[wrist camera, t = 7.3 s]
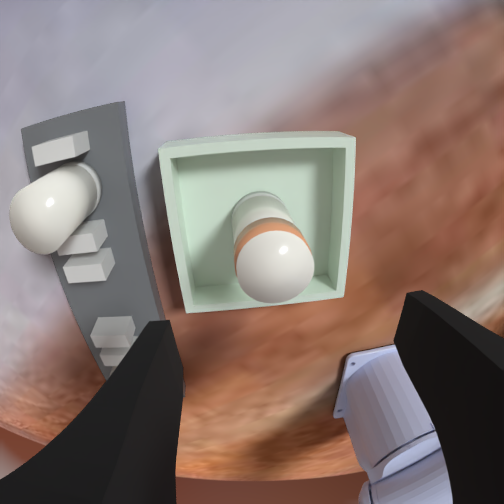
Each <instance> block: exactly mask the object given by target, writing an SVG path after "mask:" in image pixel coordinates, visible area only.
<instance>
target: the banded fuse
mask: <svg viewBox="0 0 504 504" xmlns="http://www.w3.org/2000/svg"><path fill="white" fill-rule="evenodd" d="M231 223H232V230H233V240H234V250H233V254H234V265H235V273H236V276H237V279H238V282H239V285H240V287H241V288H242V290H243V291H244V292H245V293H246V294H247V295H248V296H249V297H251V298H252V299H254V300H256V301H259V302H263V303H281V302H285V301H288V300H290V299H292V298H294V297H296V296H298V295H299V294H300V293H302V292H303V291H304V290H305V288H306V287H307V286H308V285H309V283H310V281H311V279H312V277H313V273H314V260H313V257H312V253H311V250H310V247H309V245H308V244H307V242H306V240H305V238H304V236H303V235H302V233H301V231H300V230H299V229H298V228H297V227H296V225H295V223H294V221H293V219H292V218H291V216H290V214H289V212H288V210H287V208H286V206H285V204H284V203H283V201H282V200H281V199H280V198H279V197H278V196H276V195H274V194H272V193H270V192H265V191H256V192H251V193H249V194H247V195H245V196H243V197H242V198H241V199H240V200H239V201H238V202H237V203H236V204H235V206H234V208H233V211H232V215H231Z"/></svg>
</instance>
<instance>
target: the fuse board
mask: <svg viewBox="0 0 504 504" xmlns="http://www.w3.org/2000/svg"><path fill="white" fill-rule="evenodd" d="M21 133H22V139H23V145H24V151H25V157H26V162H27V167H28V172H29V177H30V181H31V183H33V182H34V181H36V180H38V179H39V178H41V177H43V176H45V175H46V174H48V173H50V172H52V171H53V170H55V169H57V168H58V167H60V166H62V165H63V164H65V163H67V162H70V161H83V162H85V163H88V164H89V165H91V166H92V167H93V168H94V169H95V170H96V172H97V173H98V175H99V177H100V179H101V182H102V198H101V201H100V203H99V205H98V206H97V208H96V209H95V210H94V211H93V212H92V213H91V214H90V215H89V216H88V217H87V218H86V219H85V220H84V221H83V222H82V223H81V224H80V225H79V226H78V227H77V228H76V229H75V230H74V232H73V233H72V234H71V235H70V236H69V237H68V238H67V239H66V240H65V242H64V243H63V244H62V245H61V246H60V247H59V248H58V249H57V250H56V251H55V252H53V253H51V256H52V259H53V262H54V265H55V268H56V271H57V273H58V276H59V279H60V282H61V284H62V287H63V289H64V292H65V294H66V297H67V299H68V302H69V304H70V307H71V309H72V311H73V314H74V316H75V318H76V321H77V323H78V325H79V327H80V329H81V332H82V334H83V336H84V338H85V340H86V342H87V344H88V346H89V348H90V350H91V352H92V354H93V356H94V358H95V360H96V362H97V364H98V366H99V368H100V370H101V372H102V374H103V376H104V377H105V379H106V381H107V380H108V378H109V376H110V373H111V369H112V366H118V365H119V363H120V362H121V360H122V359H123V358H124V356H125V355H126V353H127V352H128V351H129V349H130V348H131V346H132V345H133V343H134V342H135V340H136V339H137V337H138V336H139V335H140V333H141V332H142V330H143V329H144V327H145V326H146V324H147V323H148V322H149V321H160V320H166V319H165V315H164V312H163V308H162V304H161V300H160V296H159V292H158V288H157V284H156V280H155V276H154V272H153V268H152V263H151V259H150V254H149V250H148V245H147V241H146V236H145V231H144V226H143V221H142V216H141V211H140V205H139V200H138V194H137V188H136V182H135V176H134V170H133V163H132V157H131V150H130V142H129V135H128V127H127V118H126V109H125V101H123V102H115V103H110V104H106V105H102V106H97V107H93V108H89V109H85V110H81V111H77V112H74V113H70V114H67V115H63V116H60V117H56V118H53V119H50V120H46V121H43V122H40V123H37V124H34V125H31V126H28V127H25V128H22V129H21ZM185 388H186V385H185V382H184V379H183V397H185Z"/></svg>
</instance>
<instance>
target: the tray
mask: <svg viewBox="0 0 504 504" xmlns="http://www.w3.org/2000/svg"><path fill="white" fill-rule="evenodd" d="M355 148H356V137H353V136H350V135H348V134H345V133H342V132H339V131H292V132H266V133H248V134H234V135H222V136H211V137H201V138H191V139H183V140H175V141H167V142H166V143H164V144H163V145H162V146H161V147H160V148H159V149H158V153H159V161H160V169H161V176H162V183H163V190H164V197H165V203H166V209H167V216H168V222H169V228H170V233H171V239H172V245H173V250H174V256H175V261H176V266H177V271H178V276H179V281H180V286H181V291H182V296H183V301H184V305H185V310H186V313H197V312H210V311H222V310H233V309H244V308H254V307H264V306H274V305H283V304H292V303H301V302H309V301H317V300H325V299H333V298H340V297H344V290H345V282H346V274H347V265H348V255H349V245H350V235H351V223H352V210H353V194H354V176H355ZM256 191H265V192H270V193H272V194H274V195H276V196H278V197H279V198H280V199H281V200H282V201H283V203H284V204H285V206H286V208H287V210H288V212H289V214H290V216H291V218H292V219H293V221H294V223H295V225H296V227H297V228H298V229H299V230H300V231H301V233H302V235H303V236H304V238H305V240H306V242H307V244H308V245H309V247H310V250H311V253H312V257H313V260H314V273H313V277H312V279H311V281H310V283H309V285H308V286H307V287H306V288H305V290H304V291H303V292H302V293H300V294H299V295H298V296H296V297H294V298H292V299H290V300H288V301H285V302H281V303H263V302H259V301H256V300H254V299H252V298H251V297H249V296H248V295H247V294H246V293H245V292H244V291H243V290H242V288H241V287H240V285H239V282H238V279H237V276H236V273H235V265H234V254H233V250H234V240H233V230H232V223H231V215H232V211H233V208H234V206H235V204H236V203H237V202H238V201H239V200H240V199H241V198H242V197H243V196H245V195H247V194H249V193H251V192H256Z"/></svg>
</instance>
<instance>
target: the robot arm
mask: <svg viewBox="0 0 504 504" xmlns="http://www.w3.org/2000/svg"><path fill="white" fill-rule="evenodd" d="M394 343H395V344H394V345H390V346H385V347H381V348H376V349H371V350H366V351H361V352H356V353H351V354H349V355H348V356H347V358H346V362H345V366H344V371H343V375H342V379H341V384H340V388H339V392H338V396H337V400H336V404H335V408H334V412H333V417H334V418H341V417H343V418H344V421H345V424H346V427H347V430H348V433H349V436H350V439H351V442H352V445H353V448H354V451H355V454H356V457H357V460H358V462H359V464H360V466H361V467H362V468H363V469H364V470H365V471H366V472H367V474H368V477H369V481H367V482H365V483H364V484H363V486H362V489H361V492H360V494H359V504H504V338H502V337H500V336H499V335H497V334H495V333H493V332H492V331H490V330H488V329H486V328H485V327H483V326H481V325H480V324H478V323H477V322H475V321H473V320H472V319H470V318H468V317H467V316H465V315H464V314H462V313H460V312H459V311H457V310H456V309H454V308H452V307H451V306H449V305H448V304H446V303H444V302H443V301H441V300H439V299H438V298H436V297H434V296H432V295H430V294H429V293H427V292H425V291H423V290H421V291H415V292H409V293H407V294H406V298H405V302H404V306H403V309H402V313H401V317H400V320H399V324H398V327H397V331H396V334H395V337H394ZM182 402H183V366H182V362H181V359H180V356H179V352H178V349H177V345H176V342H175V338H174V335H173V331H172V327H171V324H170V320H160V321H149V322H148V323H147V324H146V326H145V327H144V329H143V330H142V332H141V333H140V335H139V336H138V337H137V339H136V340H135V342H134V343H133V345H132V346H131V348H130V349H129V351H128V352H127V353H126V355H125V356H124V358H123V359H122V360H121V362H120V363H119V365H118V366H117V367H116V369H115V370H114V371H113V373H112V374H111V376H110V377H109V378H108V380H107V381H106V382H105V383H104V385H103V386H102V387H101V388H100V390H99V391H98V392H97V393H96V395H95V396H94V397H93V398H92V400H91V401H90V402H89V403H88V404H87V405H86V407H85V408H84V409H83V410H82V411H81V412H80V413H79V414H78V416H77V417H76V418H75V419H74V420H73V421H72V422H71V423H70V424H69V425H68V426H67V427H66V428H65V429H64V430H63V431H62V432H61V433H60V434H59V435H58V436H56V437H55V438H54V439H53V440H52V441H51V442H50V443H49V444H48V445H47V446H45V447H44V448H43V449H42V450H41V451H40V452H39V453H37V454H36V455H35V456H33V457H32V458H31V459H30V460H29V461H27V462H26V463H24V464H23V465H22V466H20V467H19V468H17V469H16V470H15V471H13V472H12V473H10V474H9V475H7V476H6V477H4V478H2V479H0V504H176V482H175V469H176V455H177V446H178V437H179V428H180V419H181V411H182Z"/></svg>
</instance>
